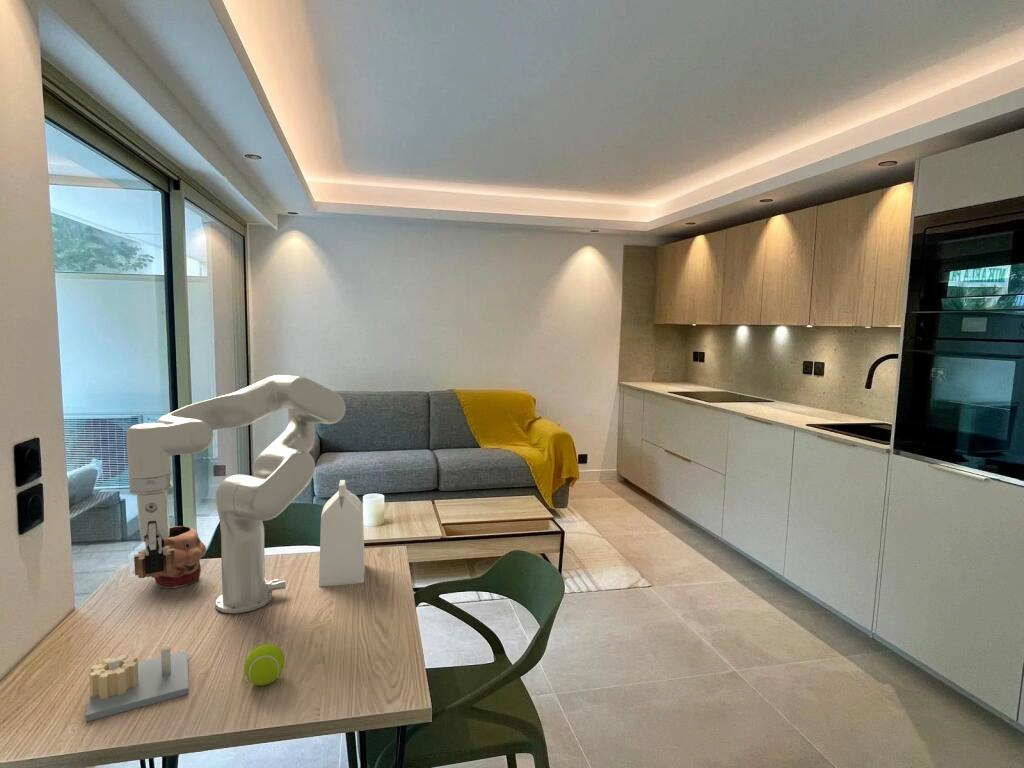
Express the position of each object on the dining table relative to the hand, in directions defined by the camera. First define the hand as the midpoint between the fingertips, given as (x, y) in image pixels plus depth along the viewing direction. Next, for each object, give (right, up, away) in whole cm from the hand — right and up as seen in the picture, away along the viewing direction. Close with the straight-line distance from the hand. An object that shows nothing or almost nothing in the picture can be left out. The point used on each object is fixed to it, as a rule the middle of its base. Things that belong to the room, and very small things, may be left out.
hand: (155, 564), depth 117 cm
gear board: (+6, -18, -14) cm, 24 cm away
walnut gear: (0, -1, 0) cm, 1 cm away
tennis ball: (+28, -19, -12) cm, 36 cm away
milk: (+29, -15, +36) cm, 48 cm away
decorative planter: (-15, -15, +31) cm, 37 cm away
